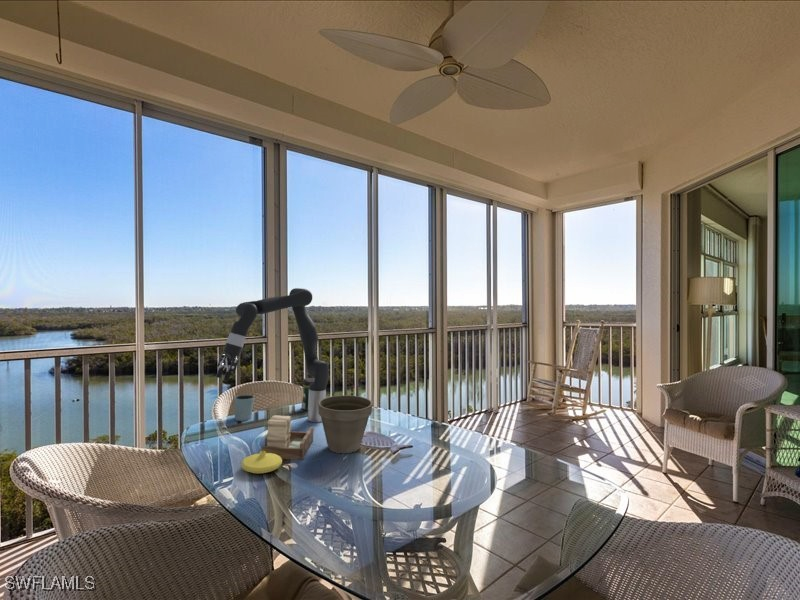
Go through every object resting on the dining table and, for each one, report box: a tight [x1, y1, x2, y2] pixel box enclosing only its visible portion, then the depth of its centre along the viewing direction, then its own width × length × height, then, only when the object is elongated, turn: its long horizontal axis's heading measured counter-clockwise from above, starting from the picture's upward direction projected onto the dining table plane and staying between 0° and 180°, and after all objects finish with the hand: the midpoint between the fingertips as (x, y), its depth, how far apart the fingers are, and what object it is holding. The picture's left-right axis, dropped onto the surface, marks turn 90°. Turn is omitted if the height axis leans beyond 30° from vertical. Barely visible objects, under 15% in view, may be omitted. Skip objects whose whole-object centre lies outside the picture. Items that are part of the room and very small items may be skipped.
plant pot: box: [318, 394, 373, 455], centre depth 193 cm, size 25×25×22 cm
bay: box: [260, 426, 315, 461], centre depth 188 cm, size 21×18×7 cm
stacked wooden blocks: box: [266, 414, 292, 447], centre depth 188 cm, size 8×8×12 cm
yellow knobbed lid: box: [240, 450, 283, 475], centre depth 167 cm, size 16×16×7 cm
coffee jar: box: [301, 377, 315, 411], centre depth 250 cm, size 10×8×19 cm
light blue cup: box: [233, 394, 255, 422], centre depth 226 cm, size 10×10×12 cm
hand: (222, 379), depth 186 cm, fingers open, 8 cm apart
